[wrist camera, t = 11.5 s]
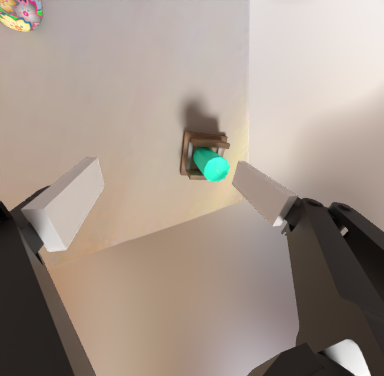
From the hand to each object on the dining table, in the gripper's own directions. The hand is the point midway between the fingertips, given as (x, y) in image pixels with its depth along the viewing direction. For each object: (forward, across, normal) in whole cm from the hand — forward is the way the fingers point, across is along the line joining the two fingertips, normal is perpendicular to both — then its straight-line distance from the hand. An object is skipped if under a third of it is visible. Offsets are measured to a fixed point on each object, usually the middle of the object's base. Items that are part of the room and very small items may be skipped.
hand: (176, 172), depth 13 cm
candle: (+25, +11, -6) cm, 28 cm away
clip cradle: (+25, +11, -6) cm, 29 cm away
